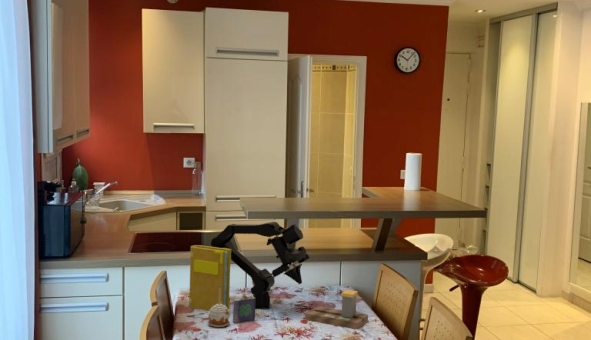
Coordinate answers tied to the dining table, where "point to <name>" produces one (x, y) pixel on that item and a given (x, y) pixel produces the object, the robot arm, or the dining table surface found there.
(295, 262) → the robot arm
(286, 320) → the dining table surface
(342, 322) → the wooden slotted board
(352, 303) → the switch handle
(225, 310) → the candy apple
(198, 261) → the book
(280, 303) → the dining table surface
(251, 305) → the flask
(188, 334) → the dining table surface
